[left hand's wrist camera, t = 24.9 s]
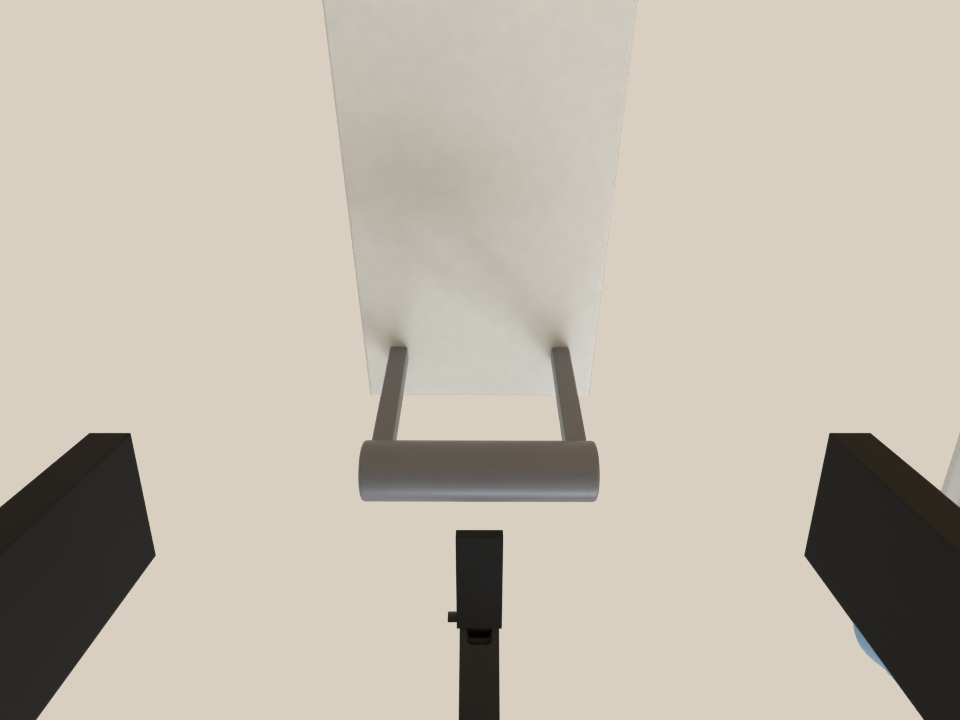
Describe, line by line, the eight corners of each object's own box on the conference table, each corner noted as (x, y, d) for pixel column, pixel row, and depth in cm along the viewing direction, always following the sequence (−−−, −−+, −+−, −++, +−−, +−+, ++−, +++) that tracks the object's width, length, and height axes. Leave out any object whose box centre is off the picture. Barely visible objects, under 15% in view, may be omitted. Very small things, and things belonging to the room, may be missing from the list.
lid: (586, 384, 29) (618, 539, 22) (373, 383, 29) (339, 539, 22) (633, -13, 20) (712, 43, 13) (326, -14, 20) (245, 41, 13)
